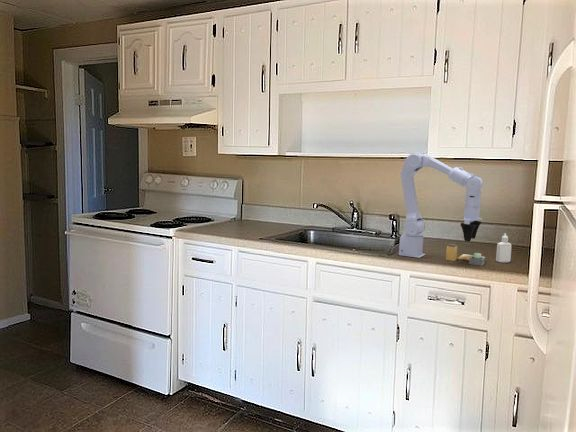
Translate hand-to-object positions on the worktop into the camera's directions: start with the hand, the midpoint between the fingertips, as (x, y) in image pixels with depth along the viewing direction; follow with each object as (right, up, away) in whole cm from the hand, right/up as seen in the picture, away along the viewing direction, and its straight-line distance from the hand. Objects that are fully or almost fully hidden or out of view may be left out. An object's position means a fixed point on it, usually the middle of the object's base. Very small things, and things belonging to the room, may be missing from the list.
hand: (469, 239), depth 194 cm
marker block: (-5, -9, +7) cm, 12 cm away
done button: (+3, -9, 0) cm, 9 cm away
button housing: (+3, -10, 0) cm, 10 cm away
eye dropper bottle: (+15, -10, +4) cm, 19 cm away
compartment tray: (+4, -9, +8) cm, 13 cm away
